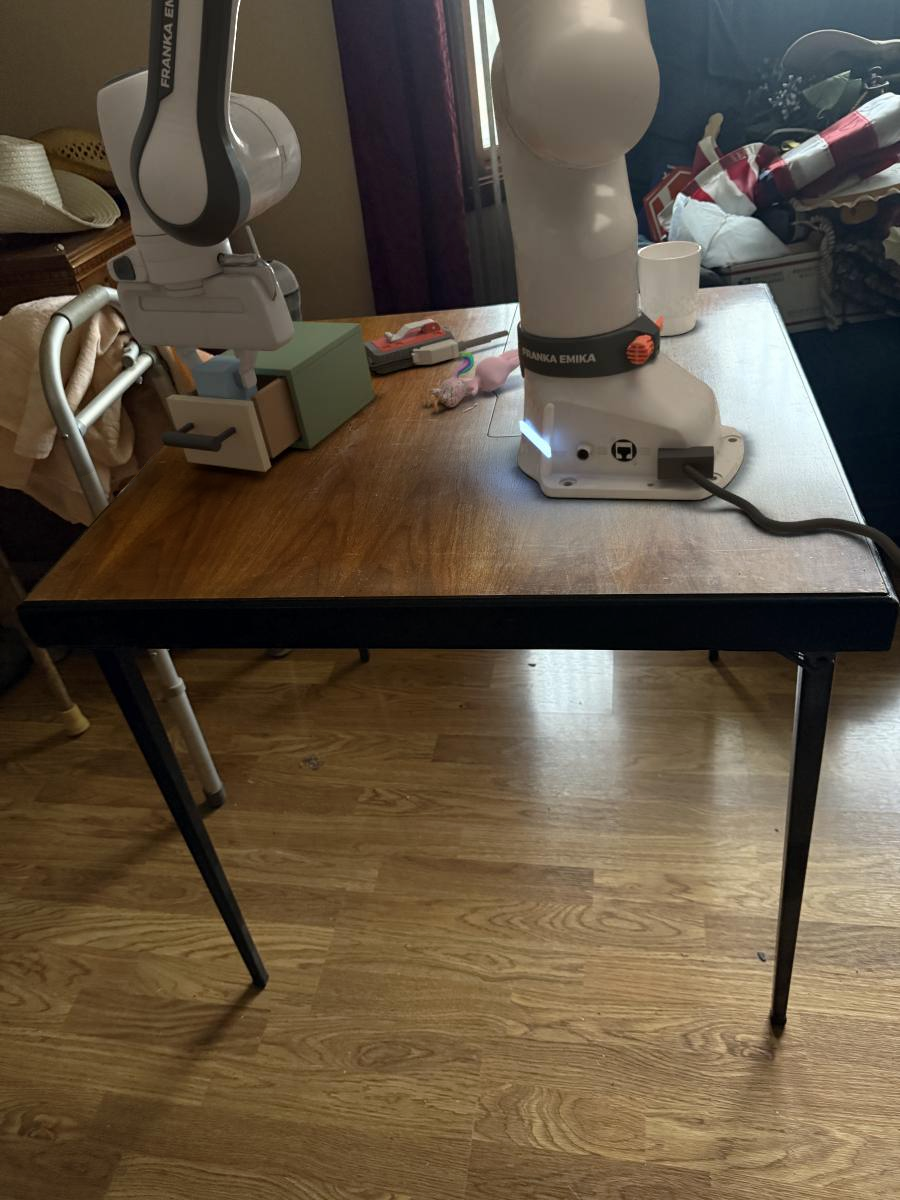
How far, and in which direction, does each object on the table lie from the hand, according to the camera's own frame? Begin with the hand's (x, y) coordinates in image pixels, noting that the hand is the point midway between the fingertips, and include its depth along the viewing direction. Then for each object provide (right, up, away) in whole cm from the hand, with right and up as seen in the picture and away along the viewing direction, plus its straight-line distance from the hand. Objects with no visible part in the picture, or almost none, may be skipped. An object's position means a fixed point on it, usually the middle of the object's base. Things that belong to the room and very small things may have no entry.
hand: (226, 384), depth 96 cm
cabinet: (+6, -1, +13) cm, 14 cm away
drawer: (+1, -6, +5) cm, 8 cm away
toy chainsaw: (+22, +10, +25) cm, 35 cm away
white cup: (+54, +13, +21) cm, 59 cm away
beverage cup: (+3, +7, +26) cm, 27 cm away
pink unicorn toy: (+29, +2, +11) cm, 31 cm away
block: (0, -2, +1) cm, 2 cm away
